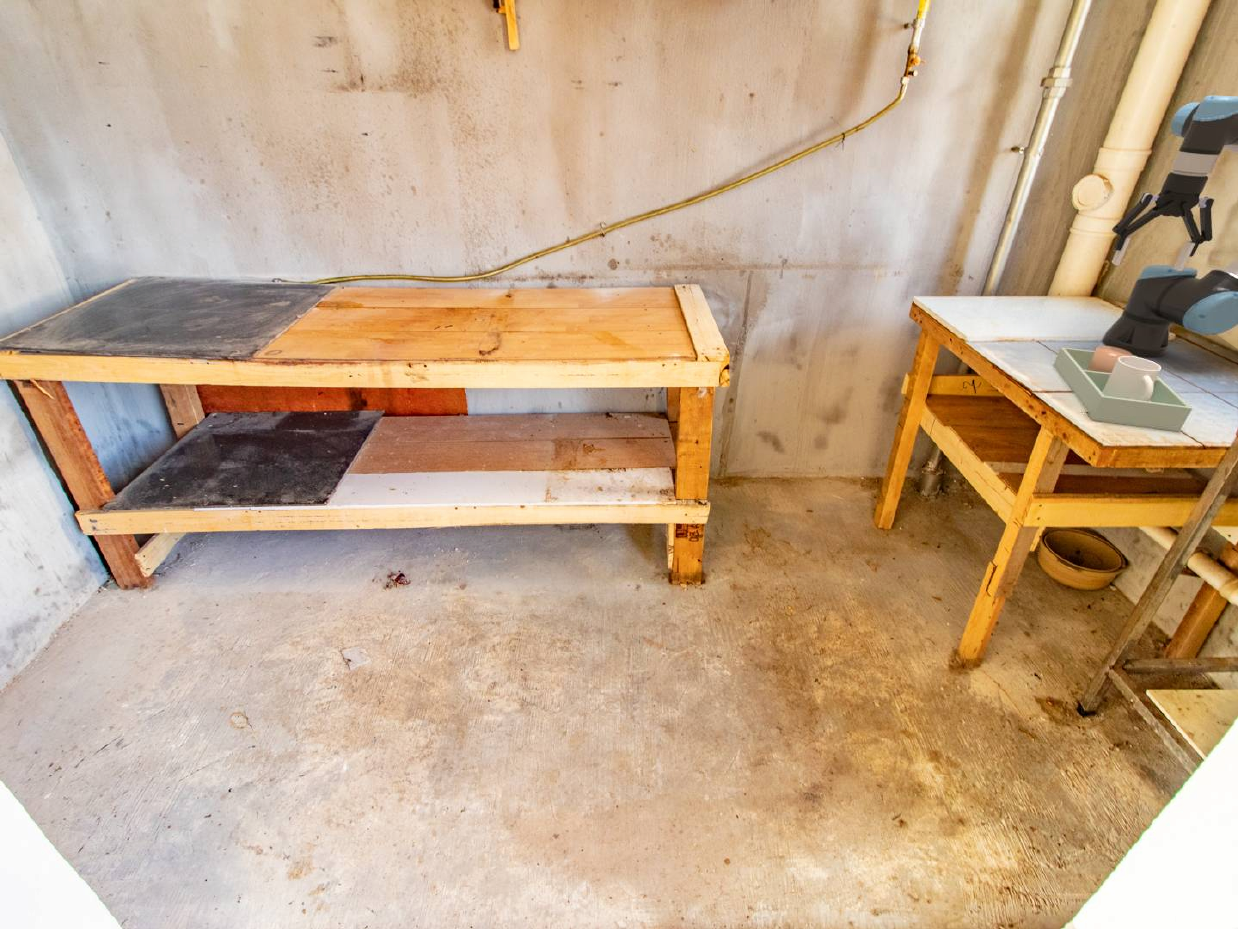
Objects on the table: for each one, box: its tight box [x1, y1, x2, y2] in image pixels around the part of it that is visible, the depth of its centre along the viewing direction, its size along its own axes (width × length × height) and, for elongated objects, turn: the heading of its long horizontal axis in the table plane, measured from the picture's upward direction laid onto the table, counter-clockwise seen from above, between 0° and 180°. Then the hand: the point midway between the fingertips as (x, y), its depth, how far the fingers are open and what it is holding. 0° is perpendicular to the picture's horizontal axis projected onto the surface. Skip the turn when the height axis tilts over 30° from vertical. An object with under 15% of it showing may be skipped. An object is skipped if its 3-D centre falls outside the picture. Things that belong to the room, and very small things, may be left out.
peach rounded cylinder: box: [1087, 345, 1134, 373], centre depth 162 cm, size 8×8×8 cm
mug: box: [1102, 356, 1162, 401], centre depth 149 cm, size 12×8×10 cm
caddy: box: [1053, 347, 1193, 432], centre depth 157 cm, size 18×30×6 cm, turn 165°
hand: (1145, 266), depth 160 cm, fingers open, 13 cm apart
